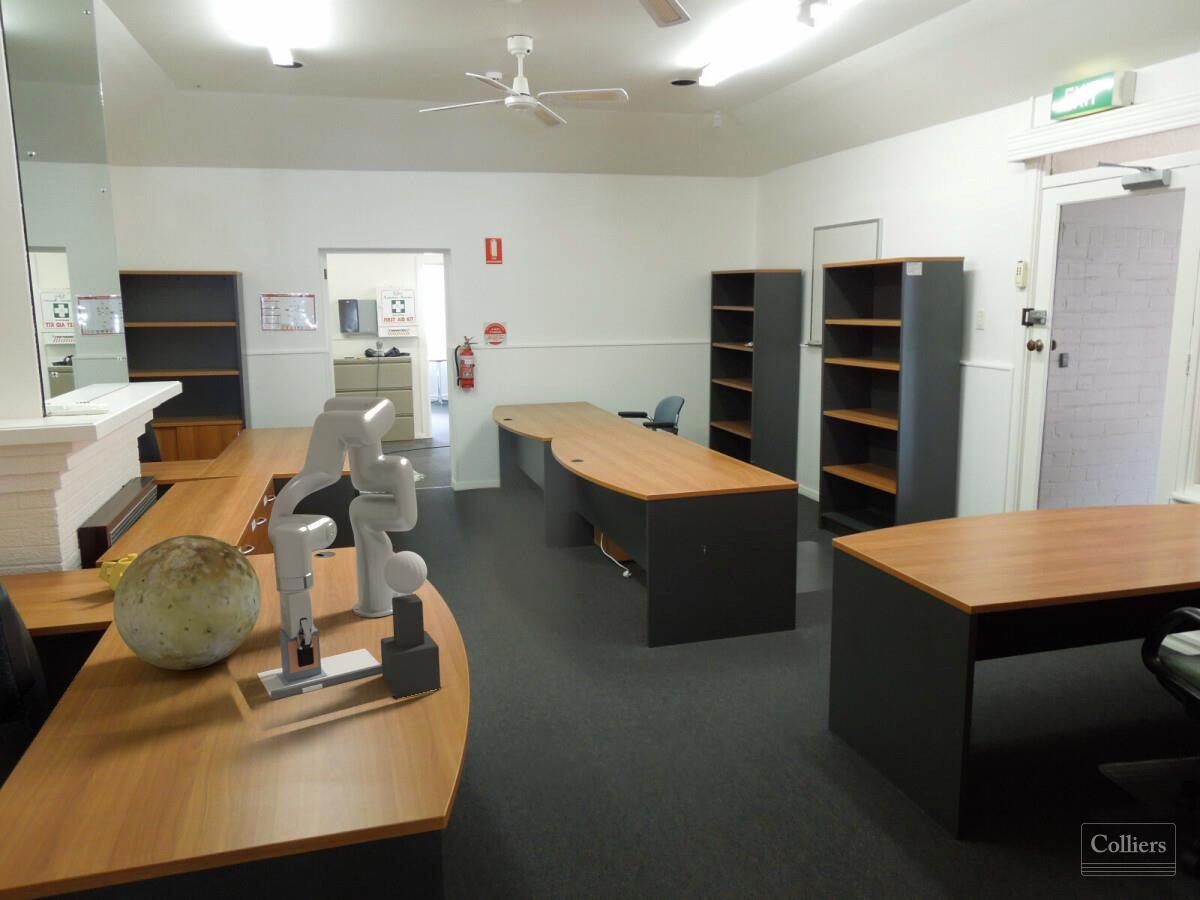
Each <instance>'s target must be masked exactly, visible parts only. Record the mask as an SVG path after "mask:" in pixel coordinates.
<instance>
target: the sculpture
mask: <svg viewBox="0 0 1200 900" xmlns="http://www.w3.org/2000/svg"><path fill="white" fill-rule="evenodd" d="M384 577H385V580H386V583H387V585H388V586H389V587H390V588H391V589H392V590H394V591H396V592H398V593H403V594H407V593H413V592H416V591H417V590H419V589H420V588H422V586H423V585H424V583H425V582H426V580H427V577H428V568H427V564H426V562H425V560H424V559H423V558H422V556H421V555H419V554H418V553H416V552H414V551H409V550H403V551H398V552H395V554H393V556H392V557H391V558H390V559H389V560H388V561H387V563H386V565H385V569H384ZM423 605H424V604H423V600H422V599H421V598H420V597H419V596H418V595H417V594H416V593H413V594H411V595H405V596H399V597H393V598H392V610H393V614H392V623H393V624H392V625H393V626H392V627H393V636H388V637H384V638H383V637H382V638H381V639H380V653H381V654H380V656H381V657H380V658H381V664H382V673H381V674H382V678H383V679H384V681H385V683H386V684H387V686H388V688H389V689H390V691H391V694H393V695H392V696H391V697H392V699H393V700H394V699H398V698H402V697H406V698H408V697H407V696H411V695H415V694H419V693H423V692H427V691H430V690H435V689H439V688H440V687H441V669H440V666H441V665H440V649H439V645H438V644H437V643H436V641H435V640H434V639H433V637H432V636H431V635H430V634H429V632H428V631H427V630H425V626H424V625H425V623H424V606H423ZM440 689H441V688H440ZM415 696H416V695H415ZM411 697H412V696H411ZM402 699H403V698H402ZM398 700H399V699H398Z"/></svg>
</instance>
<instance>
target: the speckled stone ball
mask: <svg viewBox="0 0 1200 900" xmlns="http://www.w3.org/2000/svg"><path fill="white" fill-rule="evenodd" d="M139 554H140V555H139ZM139 554H138V555H139V556H138V555H137V557H136V558H135V559H134V560H133V561H132V562H131V564H130V565H129V566H128V567H127V569H126V570H125V572H124V573H123V575H122V577H121V579H120V581H119V583H118V585H117V588H116V592H115V591H114V597H113V617H114V623H115V626H116V630H117V632H118V634H119V636H120V638H121V639H122V641H123V642H124V644H125V645H126V647H128V648H129V650H130V651H132V653H133V654H135V655H136V657H138V658H140V659H142V660H143V661H146V662H147V663H149V664H151V665H154V666H155V667H159V668H162V669H168V670H174V671H175V670H177V671H187V670H194V669H201V668H204V667H207V666H210V665H213V664H216V663H218V662H219V661H222V660H223V659H225V658H227V657H228V656H230V655H231V654H232V653H234V652H235V651H236V650H237V649H238V648H239V647H240V646H241V645H242V644H243V643H245V641H246V640H247V639H248V637H249V635H250V634H251V633H252V632H253V631H252V630H253V629H254V627H255V626H256V623H257V620H258V619H259V614H260V611H261V605H262V588H261V584H260V580H259V577H258V574H257V572H256V571H255V568H254V567H253V565H252V563H251V562H250V561H249V559H248V558H247V556H246V555H244V554H243V553H242V552H241V551H240V550H239V549H237V548H236V547H234V546H233V545H231V544H230V543H229V542H226V541H223V540H222V539H219V538H215V537H212V536H207V535H202V534H201V535H200V534H199V535H198V534H188V535H187V534H186V535H179V536H175V537H170V538H166V539H164V540H161V541H159V542H156V543H155V544H153V545H151V546H150V547H148V548H146V549H145V550H144V551H142V552H141V553H139Z"/></svg>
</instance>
